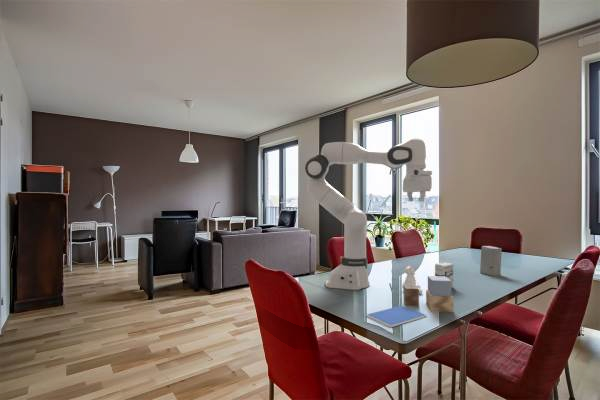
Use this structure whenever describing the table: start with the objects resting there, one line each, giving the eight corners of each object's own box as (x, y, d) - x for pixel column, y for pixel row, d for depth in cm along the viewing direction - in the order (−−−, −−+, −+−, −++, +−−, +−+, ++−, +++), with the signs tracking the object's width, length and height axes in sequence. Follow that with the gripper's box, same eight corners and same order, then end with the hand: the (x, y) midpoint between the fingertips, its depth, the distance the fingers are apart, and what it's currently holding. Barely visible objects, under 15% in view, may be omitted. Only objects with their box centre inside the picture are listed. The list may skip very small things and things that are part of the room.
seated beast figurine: (423, 294, 139) (422, 268, 139) (403, 293, 141) (402, 267, 141) (419, 289, 148) (419, 264, 148) (401, 288, 150) (401, 263, 150)
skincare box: (479, 273, 179) (479, 246, 179) (489, 272, 181) (488, 245, 181) (492, 276, 171) (492, 248, 171) (502, 275, 173) (502, 247, 173)
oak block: (431, 311, 119) (431, 296, 119) (426, 304, 127) (426, 290, 127) (453, 312, 118) (453, 296, 118) (446, 305, 125) (446, 290, 125)
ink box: (444, 290, 146) (443, 265, 146) (434, 287, 150) (434, 263, 150) (453, 287, 150) (453, 263, 150) (444, 285, 155) (444, 261, 155)
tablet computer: (401, 307, 124) (401, 304, 124) (428, 318, 113) (427, 314, 113) (365, 317, 114) (365, 314, 114) (391, 329, 103) (391, 325, 103)
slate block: (432, 295, 119) (432, 280, 119) (427, 290, 126) (427, 276, 126) (451, 296, 118) (451, 280, 118) (445, 291, 125) (445, 276, 125)
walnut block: (406, 305, 125) (406, 288, 125) (403, 301, 130) (403, 285, 130) (418, 306, 125) (418, 288, 125) (416, 302, 130) (415, 285, 130)
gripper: (399, 174, 156) (399, 201, 156) (421, 170, 136) (421, 201, 136) (410, 174, 157) (410, 201, 157) (434, 170, 137) (434, 201, 137)
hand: (415, 201), depth 146 cm, fingers open, 8 cm apart
